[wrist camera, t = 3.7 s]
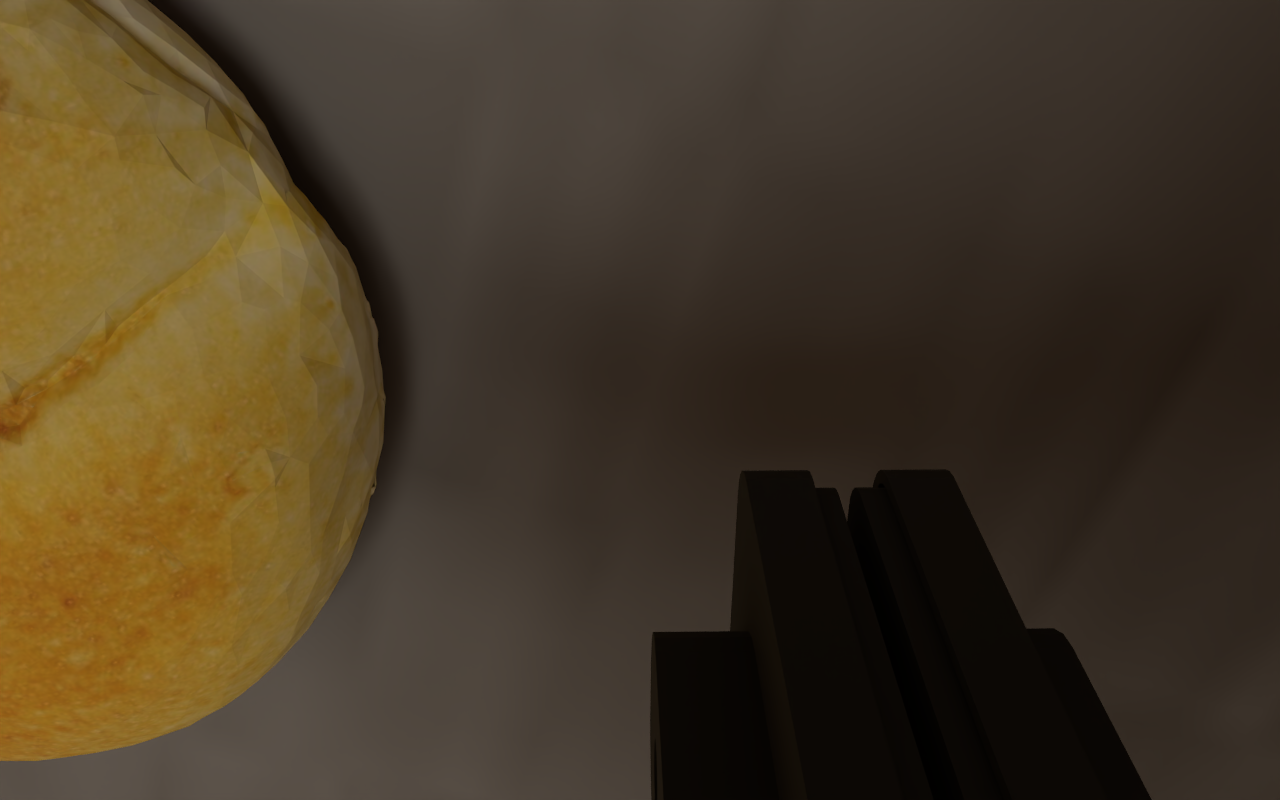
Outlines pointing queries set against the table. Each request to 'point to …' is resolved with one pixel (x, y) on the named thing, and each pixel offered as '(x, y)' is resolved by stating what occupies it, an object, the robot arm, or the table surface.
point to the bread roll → (161, 385)
